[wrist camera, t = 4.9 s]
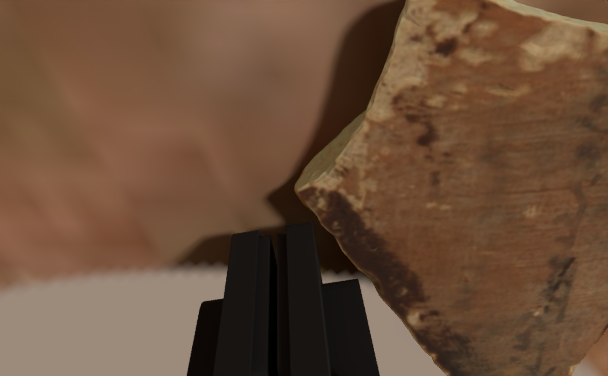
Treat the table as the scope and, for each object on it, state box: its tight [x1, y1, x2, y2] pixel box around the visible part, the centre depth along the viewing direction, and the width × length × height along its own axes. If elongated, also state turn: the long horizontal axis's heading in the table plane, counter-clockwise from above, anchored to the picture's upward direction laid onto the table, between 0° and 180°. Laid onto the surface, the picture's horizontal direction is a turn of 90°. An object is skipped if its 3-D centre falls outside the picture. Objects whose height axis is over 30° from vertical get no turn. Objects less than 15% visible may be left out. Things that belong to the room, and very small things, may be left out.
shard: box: [294, 0, 608, 376], centre depth 11 cm, size 11×8×2 cm
